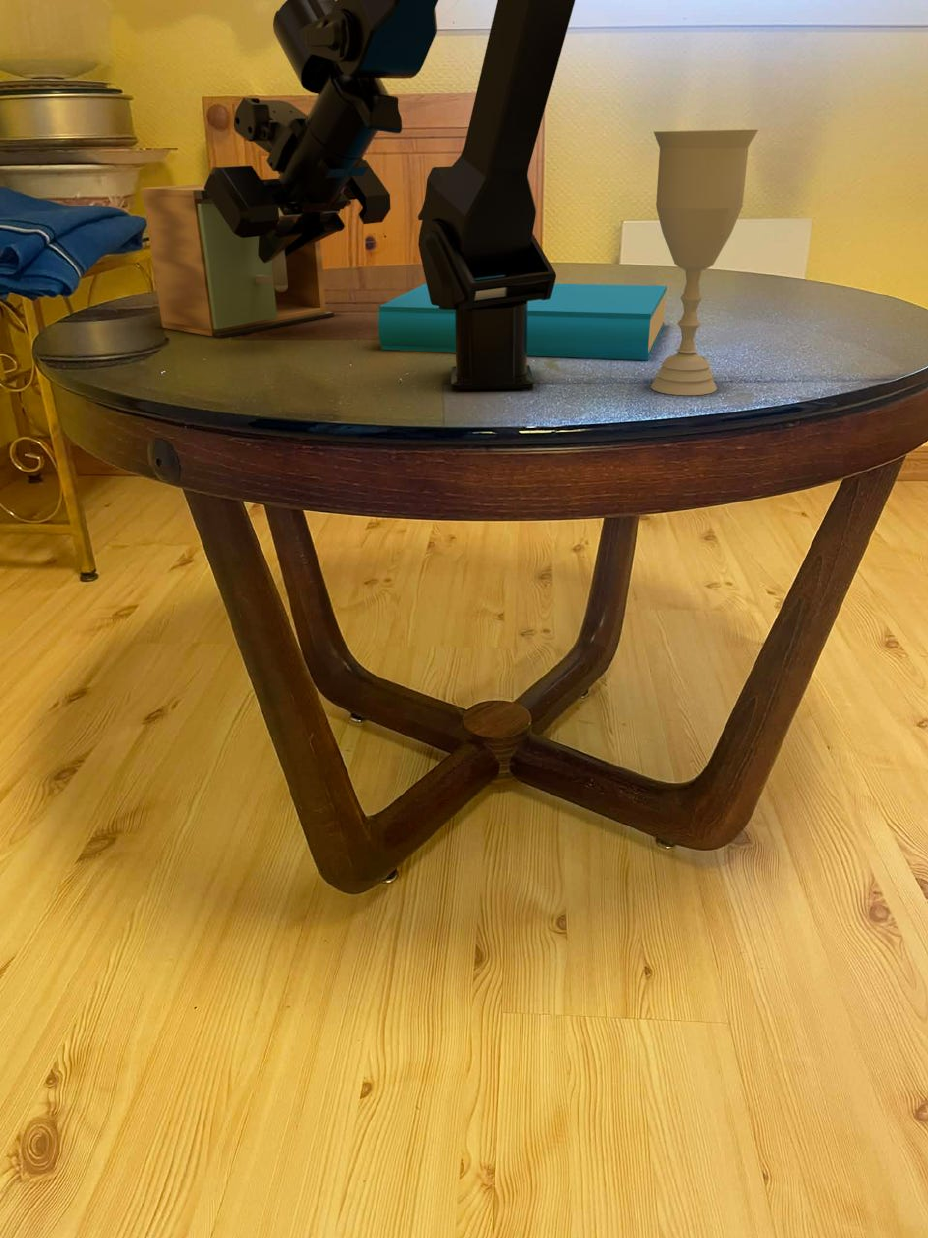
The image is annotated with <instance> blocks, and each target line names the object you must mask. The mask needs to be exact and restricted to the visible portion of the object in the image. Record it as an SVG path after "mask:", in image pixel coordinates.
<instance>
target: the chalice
mask: <svg viewBox="0 0 928 1238" xmlns="http://www.w3.org/2000/svg"><path fill="white" fill-rule="evenodd" d="M758 131H759V129H696V130H695V129H694V130H657V131H656V130H655V131H653V134H654V137H655V140H656V143H657V144H658V147H659V155H658V156H659V157H658V170H657V171H658V172H657V186H656V200H655V201H656V203H655V208H656V211H657V215H658V219H659V223H660V228H661V232H662V235H663V238H664V240H665V243H666V245H667V248H668V250H669V253H670V256H671V258H672V261H673V264H674V265H675V266H677V267H678V268H680V269H682V270H684V272H685V278H686V279H685V280H686V281H685V285H684V290H683V294H681V296H680V297H679V298H680V300H681V302H682V306H683V313H682V316H681V319H680V320H678V321H677V325H678V327H679V329H680V334H681V341H680V345H679V348H678V349H676V350H675V351H676V353H674V354H672V355H668V356H667V357H666V358H665V359H664V360H663V361H662V362H661V364H660V365H661V367H660V368H659V370H658V372H656V378H655V379H654V381H653V382H652V383H651V386H650V388H651V389H652V390H653V391H655V392H658V393H662V394H666V395H673V396H701V395H708V394H712V393H714V392H716V391H717V390H718V387H717V385H716V383H715V381H714V380H713V379H714V374H713V372H712V370H711V368H710V367H711V364H710V363H709V361H708V360H707V358H706V357H705V356H703V355H699V354H698V350H697V349H696V347H695V336H696V332H697V329H698V328H699V327H700V326H701V325H702V323H701V322H700V320H699V319H698V313H697V310H698V307H699V304H700V303H701V301H702V299H703V297H702V295H701V291H700V279H701V275H702V271H704V270H707V269H708V268H710V267H712V266H714V265H715V263H716V261H717V260H718V258H719V256H720V254H721V253H722V251H723V249H724V247H725V245H726V243H727V241H728V240H729V238H730V236H731V234H732V232H733V231H734V227H735V225H736V222H737V220H738V218H739V216H740V213H741V211H742V208H743V206H744V205H743V204H744V195H745V187H746V186H745V185H746V176H747V167H748V166H747V165H748V156H749V147H750V145H751V144H752V142H753V140H754V139H755V136H756V135H757V133H758Z"/></svg>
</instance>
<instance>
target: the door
mask: <svg viewBox="0 0 928 1238" xmlns="http://www.w3.org/2000/svg"><path fill="white" fill-rule="evenodd" d="M198 211H199V219H200V227H201V234H202V242H203V250H204V258H205V265H206V273H207V281H208V289H209V296H210V304H211V312H212V320H213V327H214V329H216V330H218V329H224V328H229V327H234V326H239V325H245V324H250V323H255V322H261V321H266V320H271V319H276V318H277V312H276V302H275V292H274V288H275V289H276V290H277V291H278V292H284V291H286V289H287V288H288V280H287V270H286V259H285V249H284V250H283V251H282V252H281V253H279V254H278V255H277V256H276V257H275V258H273V259H272V260H270V261H269V262H268V263H263V262H262V260H261V259H260V258H259V255H258V251H259V236H256V237H247V238H241V237H239V236H237V235H236V234H234V233H233V232H232V230H231V229H230V227H229V226H228V224H227V223H226V221H225V220H224V218H223V217H222V215H221V214H220V212H219V211H218V209H217V208H216V206H215V205H214V203H203V204H198Z"/></svg>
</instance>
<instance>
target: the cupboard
mask: <svg viewBox="0 0 928 1238" xmlns="http://www.w3.org/2000/svg"><path fill="white" fill-rule="evenodd" d="M204 185H205V183H200V184H183V185H182V184H181V185H170V186H167V185H166V186H151V187H141V195H142V203H143V209H144V215H145V221H146V222H145V224H146V229H147V236H148V240H149V241H148V243H149V248H150V255H151V262H152V268H153V269H152V270H153V276H154V281H155V288H156V295H157V302H158V307H159V313H160V321H161V327H162V328H163V329H167V330H172V331H179V332H184V333H191V334H195V335H200V336H207V337H212V338H217V339H224V338H229V337H235V336H239V335H244V334H249V333H254V332H259V331H265V330H271V329H274V328H280V327H285V326H289V325H294V324H295V325H296V324H300V323H305V322H310V321H316V320H319V319H326V318H331V317H334V316H335V312H334V311H329V310H328V311H327V308H326V297H325V284H324V269H323V258H322V245H321V240H319V241H317V242H315V243H313V244H311V245H310V246H308V247H306V248H304V249H302V250H300V251H298V252H297V253H295V254H293V255H291V256H289V257H287V258H286V270H287V280H288V288H287V289H286V291H284V292H278V291H277V290H276V289H275V288H274V292H275V302H276V312H277V318H276V319H271V320H266V321H261V322H255V323H250V324H245V325H239V326H234V327H229V328H224V329H218V330H216V329H214V327H213V320H212V312H211V304H210V296H209V289H208V281H207V273H206V265H205V258H204V250H203V242H202V234H201V227H200V219H199V211H198V204H203V203H213V202H212V200H211V199H210V197H209V196H208V194H207V193H206V191H205V190H204Z"/></svg>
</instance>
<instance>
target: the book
mask: <svg viewBox="0 0 928 1238" xmlns="http://www.w3.org/2000/svg"><path fill="white" fill-rule="evenodd" d="M667 290H668V286H667V285H646V284H644V285H643V284H642V285H640V284H601V283H599V284H598V283H597V284H594V283H593V284H592V283H554V287H553V290H552V294H551V298H550V299H548V300H533V301H528V308H527V356H534V357H560V358H581V359H582V358H586V359H609V360H610V359H613V360H615V359H616V360H635V361H648V360H649V359H650V357H651V355H652V352H653V351H654V348H655V346H656V344H657V342H658V340H659V338H660V336H661V334H662V332H663V330H664V328H665V309H666V297H667V296H666V294H667V292H668V291H667ZM377 332H378V339H379V343H380V350H382V351H404V352H405V351H407V352H428V353H429V352H432V353H455V354H456V333H455V310H443V309H439V306H436V305H432V304H431V300H430V296H429V291H428V287H427V282H426V283H423V284H422V285H420V286H418V287H416V288H414V289H411V290H409V291H408V292H405V293H403V294H401V295H399V296H397V297H395V298H393V299H391V300H389V301H386V302H385V303H383V304H381V305H379V306H378V319H377Z"/></svg>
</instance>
